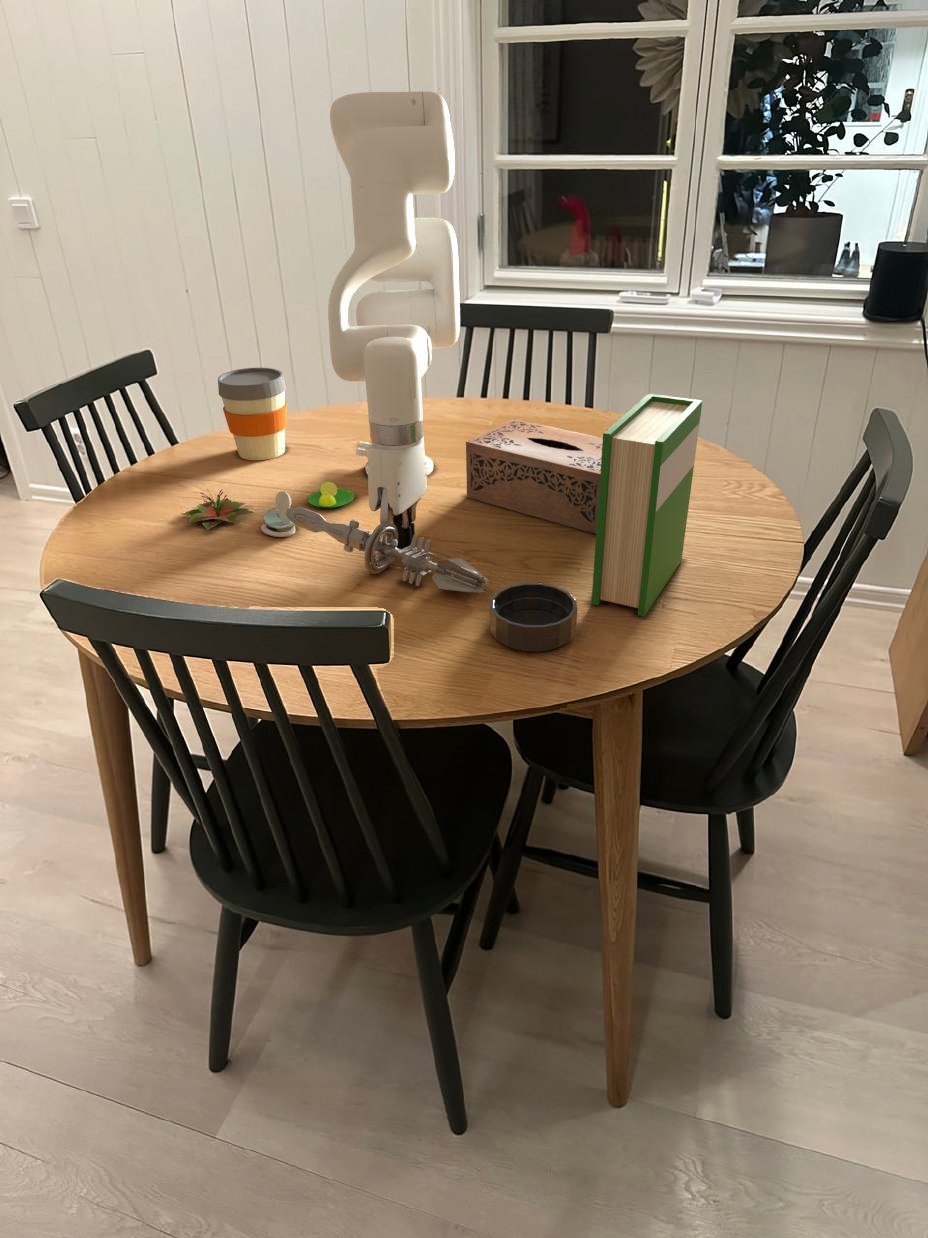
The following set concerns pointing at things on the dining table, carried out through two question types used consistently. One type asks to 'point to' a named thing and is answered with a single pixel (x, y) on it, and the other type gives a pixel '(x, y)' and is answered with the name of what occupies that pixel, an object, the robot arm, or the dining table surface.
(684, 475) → the hardback book
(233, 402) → the reusable coffee cup
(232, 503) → the lily flower
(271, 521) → the pacifier
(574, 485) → the tissue box cover
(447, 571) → the spaceship
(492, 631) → the ashtray
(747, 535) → the dining table surface
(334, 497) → the green plate with lemon
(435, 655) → the dining table surface
